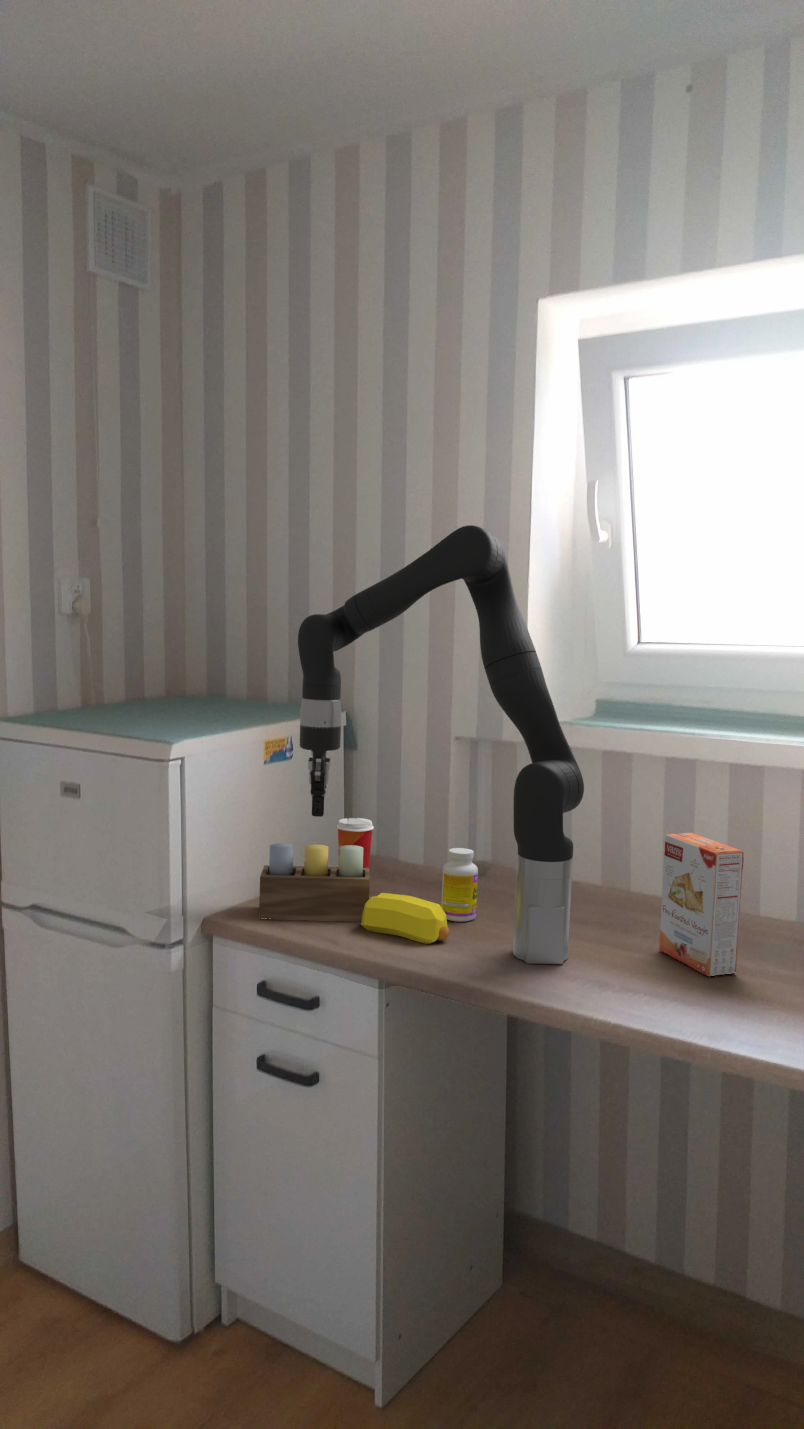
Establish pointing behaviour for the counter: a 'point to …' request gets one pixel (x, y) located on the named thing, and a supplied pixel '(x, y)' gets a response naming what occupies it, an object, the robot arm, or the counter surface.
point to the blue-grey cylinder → (281, 859)
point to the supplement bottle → (459, 886)
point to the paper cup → (356, 835)
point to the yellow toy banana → (405, 917)
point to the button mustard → (316, 860)
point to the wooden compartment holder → (313, 896)
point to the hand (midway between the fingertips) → (317, 815)
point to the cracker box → (701, 903)
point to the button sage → (351, 861)
